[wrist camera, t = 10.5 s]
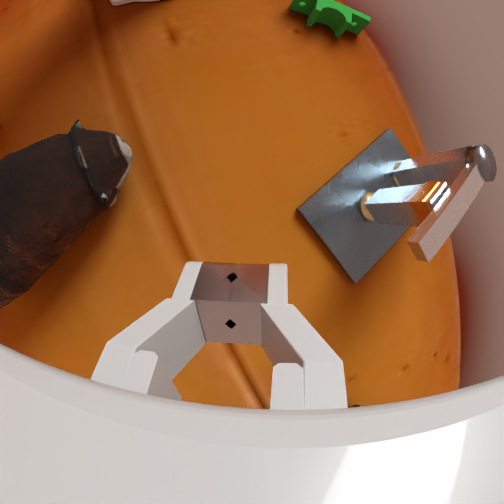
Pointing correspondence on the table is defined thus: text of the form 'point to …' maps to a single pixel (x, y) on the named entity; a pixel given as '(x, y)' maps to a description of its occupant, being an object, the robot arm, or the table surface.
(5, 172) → the dark brown oval body
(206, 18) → the table surface
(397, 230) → the bolt hole plate
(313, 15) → the pipe clamp
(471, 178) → the grey metal upright piece
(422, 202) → the post
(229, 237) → the table surface
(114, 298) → the table surface
